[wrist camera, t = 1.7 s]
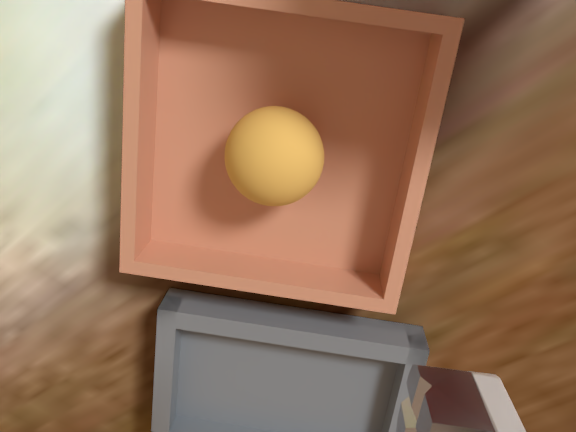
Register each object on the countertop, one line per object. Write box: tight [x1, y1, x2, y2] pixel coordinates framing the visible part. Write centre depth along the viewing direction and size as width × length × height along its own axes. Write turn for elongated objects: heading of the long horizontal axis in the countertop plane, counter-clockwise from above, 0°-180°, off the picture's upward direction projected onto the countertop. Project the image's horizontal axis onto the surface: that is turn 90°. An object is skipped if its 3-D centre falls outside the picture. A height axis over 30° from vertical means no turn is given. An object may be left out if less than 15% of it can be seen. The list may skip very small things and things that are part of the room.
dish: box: [119, 0, 465, 314], centre depth 25 cm, size 13×13×3 cm
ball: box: [225, 106, 324, 206], centre depth 24 cm, size 4×4×4 cm
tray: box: [151, 288, 429, 432], centre depth 31 cm, size 14×9×2 cm, turn 82°
